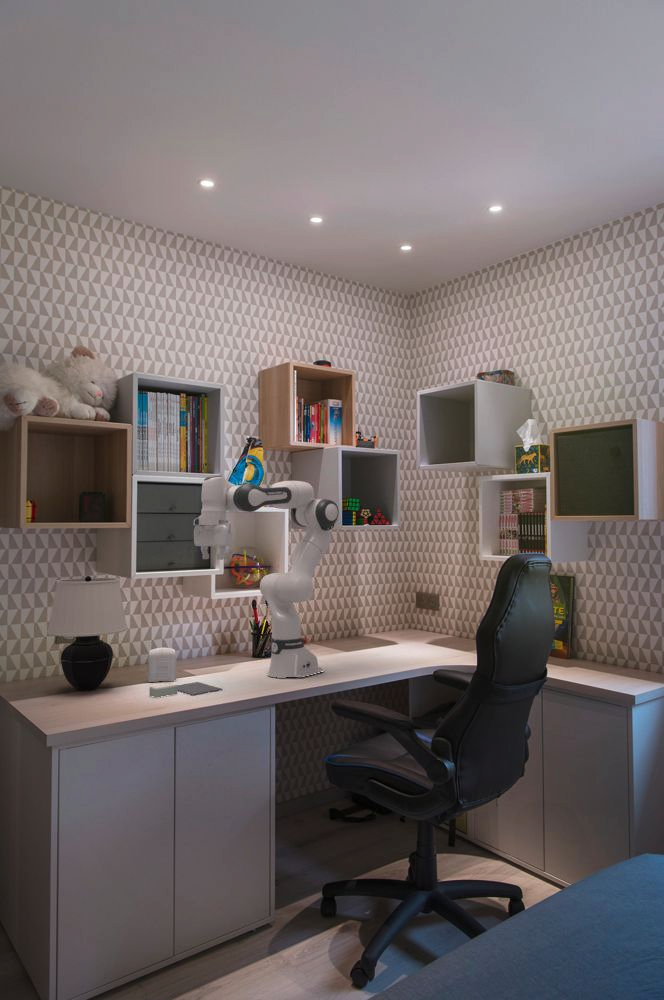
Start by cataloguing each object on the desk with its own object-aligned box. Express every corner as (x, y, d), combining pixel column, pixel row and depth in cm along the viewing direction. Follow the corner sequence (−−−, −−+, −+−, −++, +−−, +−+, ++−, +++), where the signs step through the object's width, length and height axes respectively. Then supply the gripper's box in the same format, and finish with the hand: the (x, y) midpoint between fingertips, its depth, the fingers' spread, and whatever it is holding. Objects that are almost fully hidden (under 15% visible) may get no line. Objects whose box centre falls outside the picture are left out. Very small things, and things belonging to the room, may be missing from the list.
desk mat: (197, 683, 258) (197, 681, 258) (222, 690, 246) (222, 688, 246) (168, 688, 249) (168, 686, 249) (192, 695, 238) (192, 694, 238)
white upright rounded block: (176, 679, 265) (176, 646, 266) (176, 681, 261) (176, 648, 261) (147, 680, 262) (147, 647, 263) (147, 683, 258) (147, 649, 259)
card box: (170, 692, 244) (170, 682, 244) (177, 695, 240) (177, 684, 240) (149, 696, 238) (149, 686, 238) (156, 698, 235) (156, 688, 235)
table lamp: (118, 678, 267) (119, 572, 268) (134, 692, 243) (135, 576, 245) (41, 686, 254) (43, 575, 256) (51, 702, 230) (52, 579, 232)
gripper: (237, 520, 246) (237, 559, 246) (205, 521, 261) (205, 558, 261) (222, 519, 242) (222, 560, 241) (190, 520, 257) (190, 558, 256)
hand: (213, 559), depth 251 cm, fingers open, 8 cm apart
